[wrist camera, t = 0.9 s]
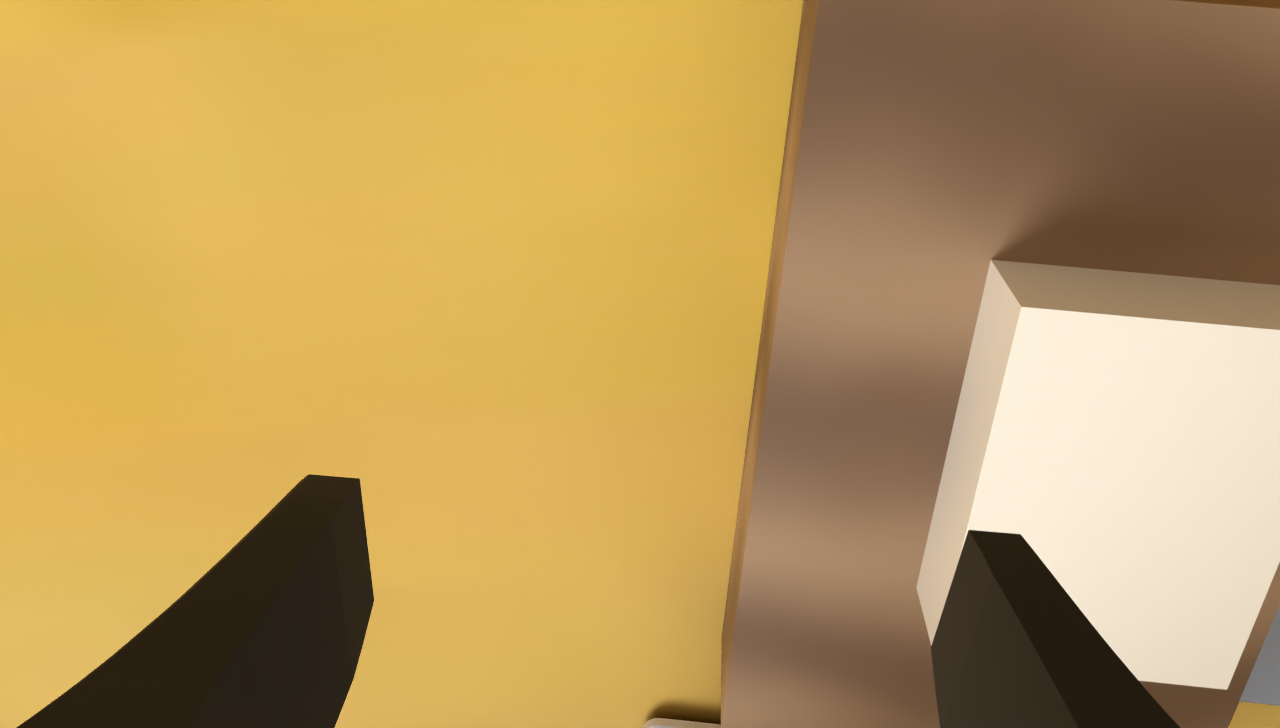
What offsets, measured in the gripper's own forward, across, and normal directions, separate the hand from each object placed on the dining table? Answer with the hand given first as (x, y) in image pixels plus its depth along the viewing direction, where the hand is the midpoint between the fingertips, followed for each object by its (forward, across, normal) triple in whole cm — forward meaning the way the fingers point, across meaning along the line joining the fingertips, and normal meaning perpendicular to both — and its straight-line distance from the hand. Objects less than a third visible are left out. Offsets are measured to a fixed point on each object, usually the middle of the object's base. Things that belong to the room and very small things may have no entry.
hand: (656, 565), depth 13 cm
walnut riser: (+12, -8, +5) cm, 16 cm away
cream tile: (+8, -9, +4) cm, 13 cm away
